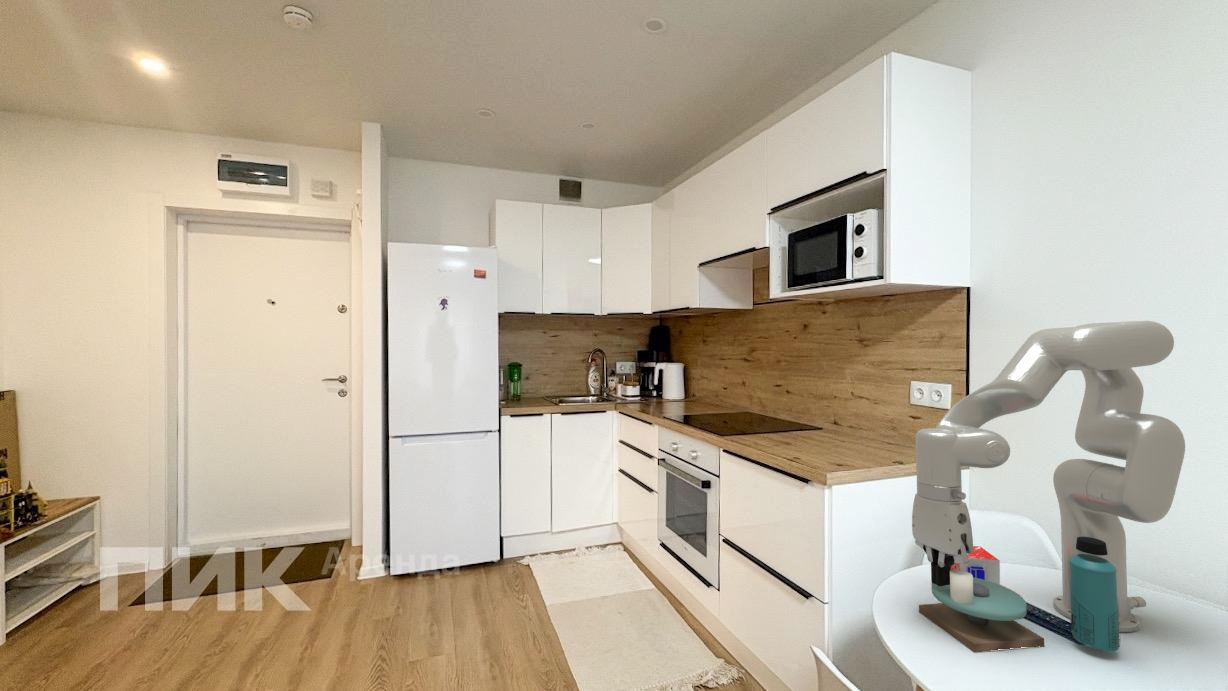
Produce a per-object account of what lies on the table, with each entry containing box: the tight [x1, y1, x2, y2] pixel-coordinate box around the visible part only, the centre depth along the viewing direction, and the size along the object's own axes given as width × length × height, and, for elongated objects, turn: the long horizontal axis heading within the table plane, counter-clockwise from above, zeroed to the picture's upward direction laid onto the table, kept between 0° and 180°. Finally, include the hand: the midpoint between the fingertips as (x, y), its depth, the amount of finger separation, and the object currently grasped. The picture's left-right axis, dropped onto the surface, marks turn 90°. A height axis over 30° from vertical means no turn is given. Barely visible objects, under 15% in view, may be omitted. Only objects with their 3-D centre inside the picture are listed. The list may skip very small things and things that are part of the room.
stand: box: [918, 602, 1045, 653], centre depth 97 cm, size 14×14×5 cm
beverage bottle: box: [1069, 537, 1121, 653], centre depth 90 cm, size 6×7×20 cm
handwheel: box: [931, 570, 1028, 621], centre depth 97 cm, size 15×15×6 cm
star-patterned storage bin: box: [951, 545, 1001, 585], centre depth 114 cm, size 8×8×8 cm
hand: (941, 583), depth 98 cm, fingers closed
